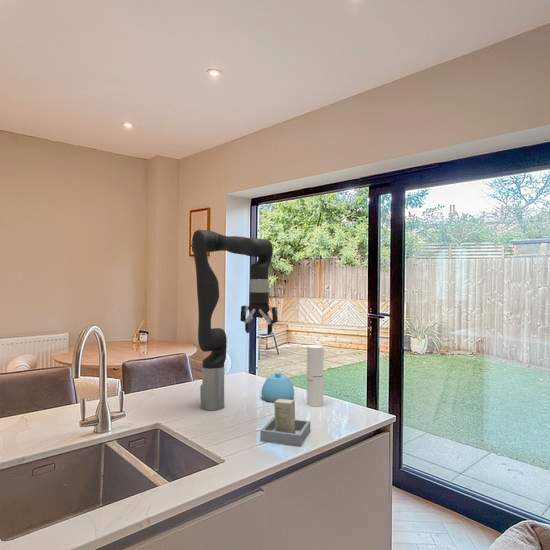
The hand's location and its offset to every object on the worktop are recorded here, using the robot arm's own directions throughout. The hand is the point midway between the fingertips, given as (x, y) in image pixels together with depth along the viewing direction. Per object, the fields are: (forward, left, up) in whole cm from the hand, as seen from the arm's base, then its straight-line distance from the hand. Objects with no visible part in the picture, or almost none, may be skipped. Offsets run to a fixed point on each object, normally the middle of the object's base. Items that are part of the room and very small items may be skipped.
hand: (258, 333), depth 157 cm
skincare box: (+13, -10, -34) cm, 38 cm away
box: (+14, -10, -34) cm, 38 cm away
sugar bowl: (-2, +31, -34) cm, 46 cm away
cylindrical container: (+16, +28, -34) cm, 47 cm away
